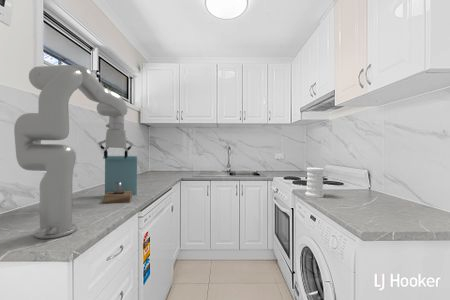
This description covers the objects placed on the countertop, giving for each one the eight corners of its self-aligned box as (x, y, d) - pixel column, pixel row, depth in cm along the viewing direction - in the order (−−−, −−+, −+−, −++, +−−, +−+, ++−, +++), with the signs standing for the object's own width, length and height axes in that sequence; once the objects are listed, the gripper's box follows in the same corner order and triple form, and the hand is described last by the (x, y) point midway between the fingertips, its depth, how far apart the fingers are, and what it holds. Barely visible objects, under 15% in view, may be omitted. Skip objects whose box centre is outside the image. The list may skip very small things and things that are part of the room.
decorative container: (315, 198, 148) (316, 169, 148) (301, 194, 158) (302, 167, 158) (327, 196, 154) (328, 168, 153) (313, 192, 164) (314, 167, 163)
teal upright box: (136, 196, 142) (136, 156, 141) (103, 198, 136) (103, 156, 136) (136, 194, 149) (137, 155, 148) (105, 195, 143) (105, 155, 143)
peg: (121, 200, 131) (121, 183, 131) (114, 201, 130) (114, 183, 130) (122, 199, 135) (122, 181, 135) (115, 199, 134) (115, 182, 134)
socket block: (129, 202, 128) (129, 195, 128) (103, 203, 125) (103, 196, 124) (131, 197, 141) (131, 190, 141) (107, 198, 137) (107, 191, 137)
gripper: (97, 125, 122) (96, 158, 122) (132, 127, 128) (132, 158, 128) (100, 127, 129) (99, 157, 130) (133, 128, 135) (133, 158, 135)
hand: (115, 158), depth 129 cm, fingers open, 9 cm apart
